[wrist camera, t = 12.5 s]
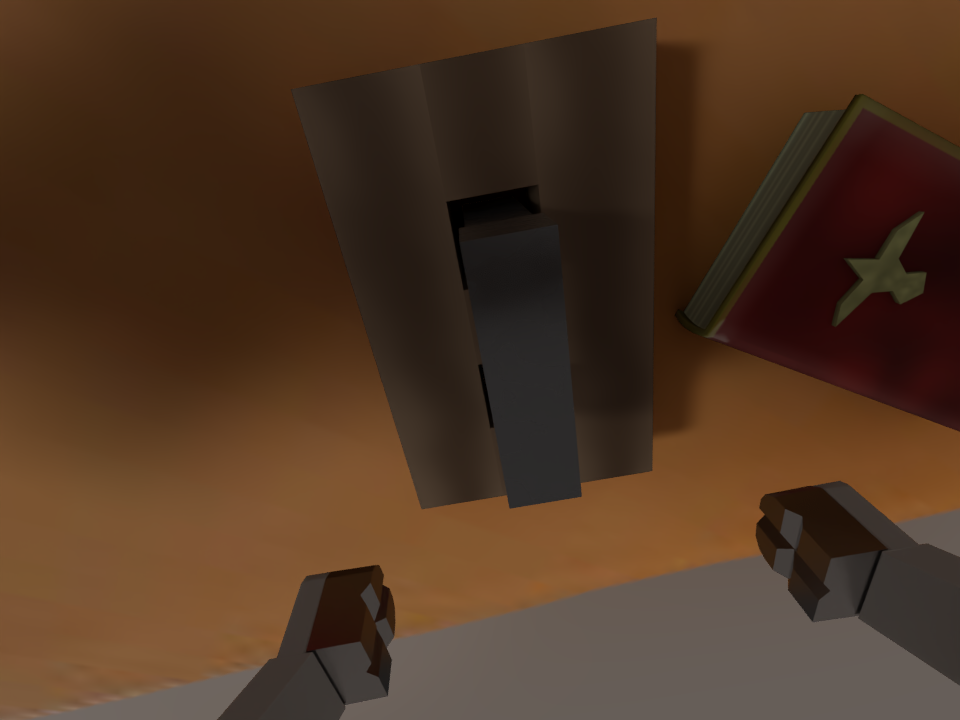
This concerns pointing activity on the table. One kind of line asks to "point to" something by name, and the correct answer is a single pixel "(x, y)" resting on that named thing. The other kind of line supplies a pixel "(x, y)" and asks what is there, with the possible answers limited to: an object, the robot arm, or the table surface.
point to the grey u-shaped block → (523, 346)
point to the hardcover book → (849, 262)
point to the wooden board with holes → (550, 190)
